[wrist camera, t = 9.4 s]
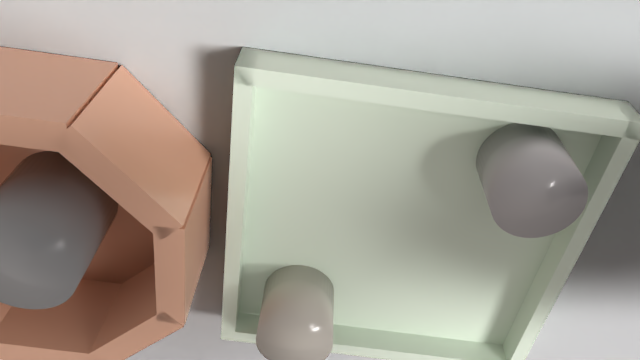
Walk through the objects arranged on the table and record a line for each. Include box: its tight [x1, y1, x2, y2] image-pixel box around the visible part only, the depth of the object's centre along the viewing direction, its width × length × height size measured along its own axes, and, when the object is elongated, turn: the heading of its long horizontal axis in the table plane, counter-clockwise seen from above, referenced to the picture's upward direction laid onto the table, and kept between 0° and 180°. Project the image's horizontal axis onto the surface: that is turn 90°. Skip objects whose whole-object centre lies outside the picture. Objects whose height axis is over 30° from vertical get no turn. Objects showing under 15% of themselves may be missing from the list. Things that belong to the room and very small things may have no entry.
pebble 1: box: [256, 265, 334, 360], centre depth 23 cm, size 3×3×3 cm
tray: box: [221, 47, 640, 360], centre depth 22 cm, size 13×13×2 cm
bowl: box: [0, 46, 212, 360], centre depth 21 cm, size 11×11×4 cm
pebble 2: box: [476, 123, 588, 238], centre depth 19 cm, size 3×3×3 cm
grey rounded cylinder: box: [0, 151, 118, 309], centre depth 20 cm, size 4×4×4 cm
